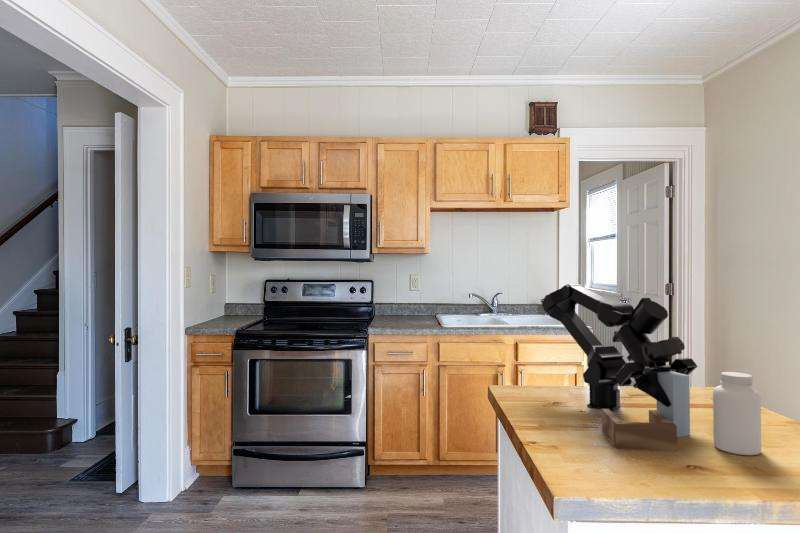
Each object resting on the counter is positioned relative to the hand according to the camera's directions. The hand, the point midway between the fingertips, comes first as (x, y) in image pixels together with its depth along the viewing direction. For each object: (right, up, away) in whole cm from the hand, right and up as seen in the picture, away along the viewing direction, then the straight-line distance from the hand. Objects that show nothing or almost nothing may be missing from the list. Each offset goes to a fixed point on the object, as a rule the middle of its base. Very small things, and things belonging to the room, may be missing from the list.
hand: (678, 404), depth 107 cm
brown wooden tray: (-10, -7, -2) cm, 12 cm away
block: (0, -7, +1) cm, 7 cm away
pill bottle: (+7, -7, -8) cm, 13 cm away
